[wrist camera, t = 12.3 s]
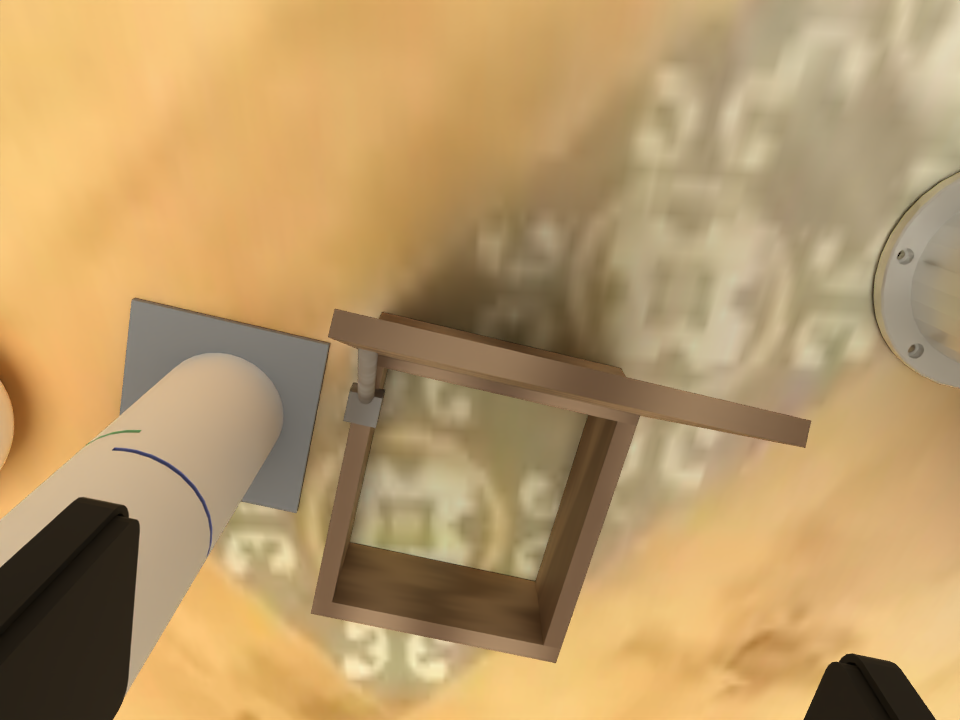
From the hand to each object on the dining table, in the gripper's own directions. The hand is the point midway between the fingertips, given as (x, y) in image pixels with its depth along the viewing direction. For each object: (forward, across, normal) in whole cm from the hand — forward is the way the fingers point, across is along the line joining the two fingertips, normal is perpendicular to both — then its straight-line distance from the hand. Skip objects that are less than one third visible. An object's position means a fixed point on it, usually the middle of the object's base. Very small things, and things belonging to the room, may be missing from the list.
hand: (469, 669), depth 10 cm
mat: (+32, +14, +13) cm, 37 cm away
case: (+33, -1, +10) cm, 35 cm away
